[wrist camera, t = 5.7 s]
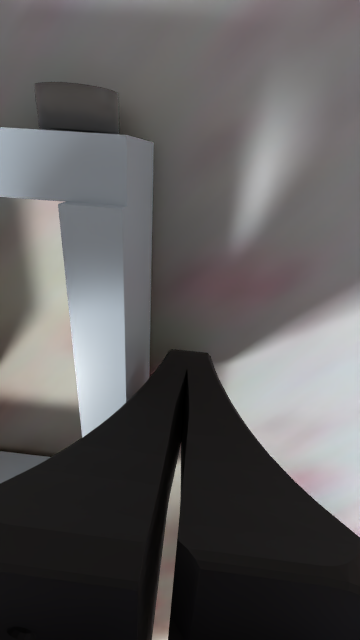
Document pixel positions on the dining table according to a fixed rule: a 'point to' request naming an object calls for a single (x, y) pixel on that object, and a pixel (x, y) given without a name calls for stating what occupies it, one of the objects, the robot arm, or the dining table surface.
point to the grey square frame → (91, 239)
